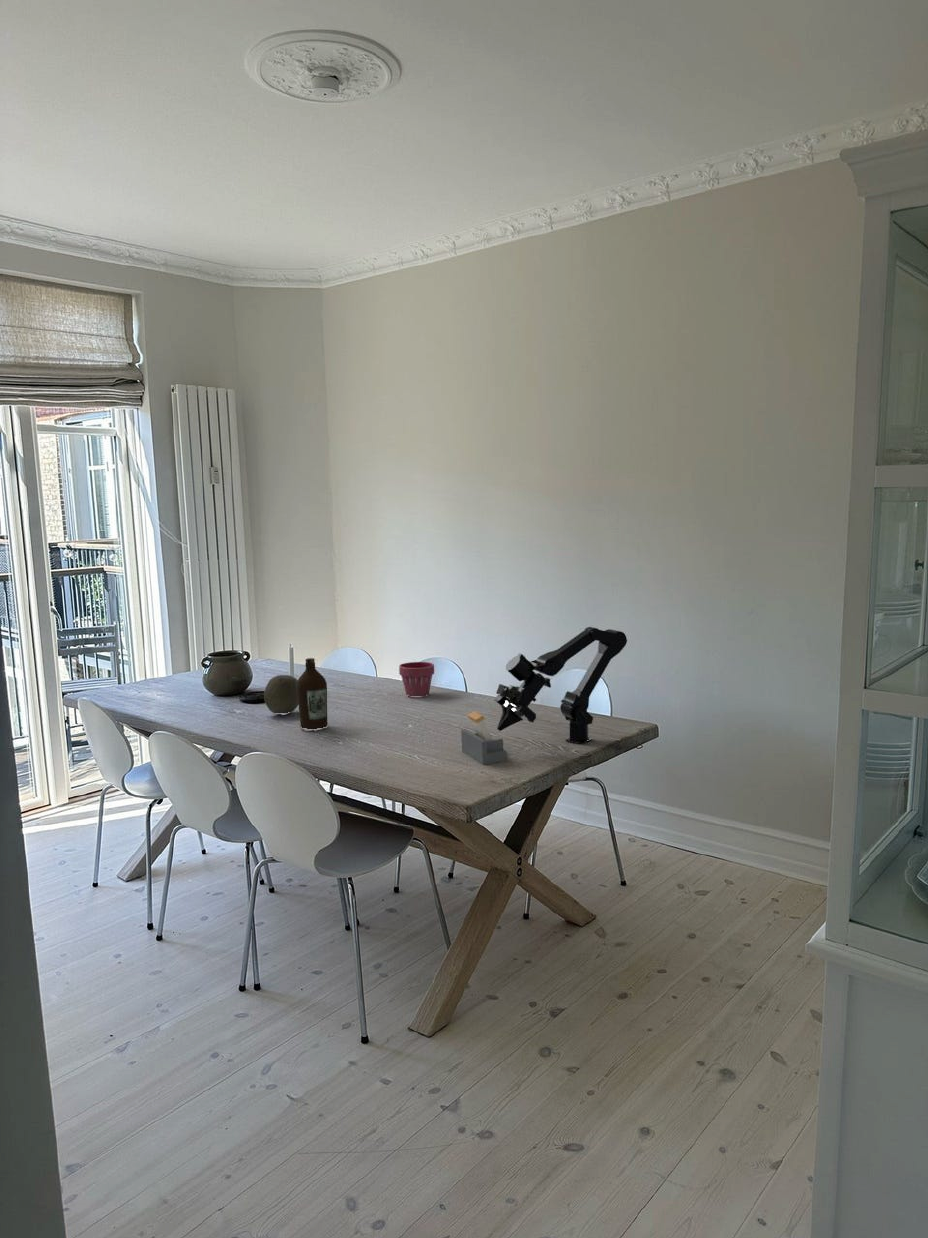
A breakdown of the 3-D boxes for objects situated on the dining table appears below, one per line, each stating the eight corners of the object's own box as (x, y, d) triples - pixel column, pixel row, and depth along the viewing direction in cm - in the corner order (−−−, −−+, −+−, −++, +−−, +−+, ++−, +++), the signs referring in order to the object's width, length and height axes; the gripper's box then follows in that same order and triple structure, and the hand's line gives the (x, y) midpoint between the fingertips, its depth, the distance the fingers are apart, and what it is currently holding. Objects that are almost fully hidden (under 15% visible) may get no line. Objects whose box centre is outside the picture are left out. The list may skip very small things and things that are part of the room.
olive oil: (294, 727, 310) (289, 658, 306) (321, 722, 315) (317, 655, 312) (306, 733, 301) (301, 662, 297) (334, 728, 306) (330, 658, 303)
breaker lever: (486, 738, 270) (474, 711, 267) (495, 743, 264) (483, 715, 261) (479, 742, 269) (467, 715, 267) (488, 747, 263) (475, 719, 260)
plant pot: (442, 693, 356) (440, 662, 354) (422, 700, 344) (421, 669, 343) (413, 690, 364) (412, 660, 362) (393, 697, 352) (391, 666, 350)
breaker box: (485, 747, 275) (484, 726, 274) (507, 760, 261) (506, 738, 260) (462, 751, 272) (461, 729, 271) (482, 764, 258) (481, 741, 257)
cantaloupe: (299, 718, 324) (296, 678, 322) (261, 719, 324) (258, 680, 322) (306, 709, 338) (304, 671, 336) (270, 710, 338) (267, 672, 336)
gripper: (498, 669, 276) (468, 708, 273) (525, 679, 259) (493, 721, 256) (522, 690, 280) (492, 728, 277) (549, 701, 263) (518, 742, 260)
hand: (498, 729), depth 268 cm, fingers closed
